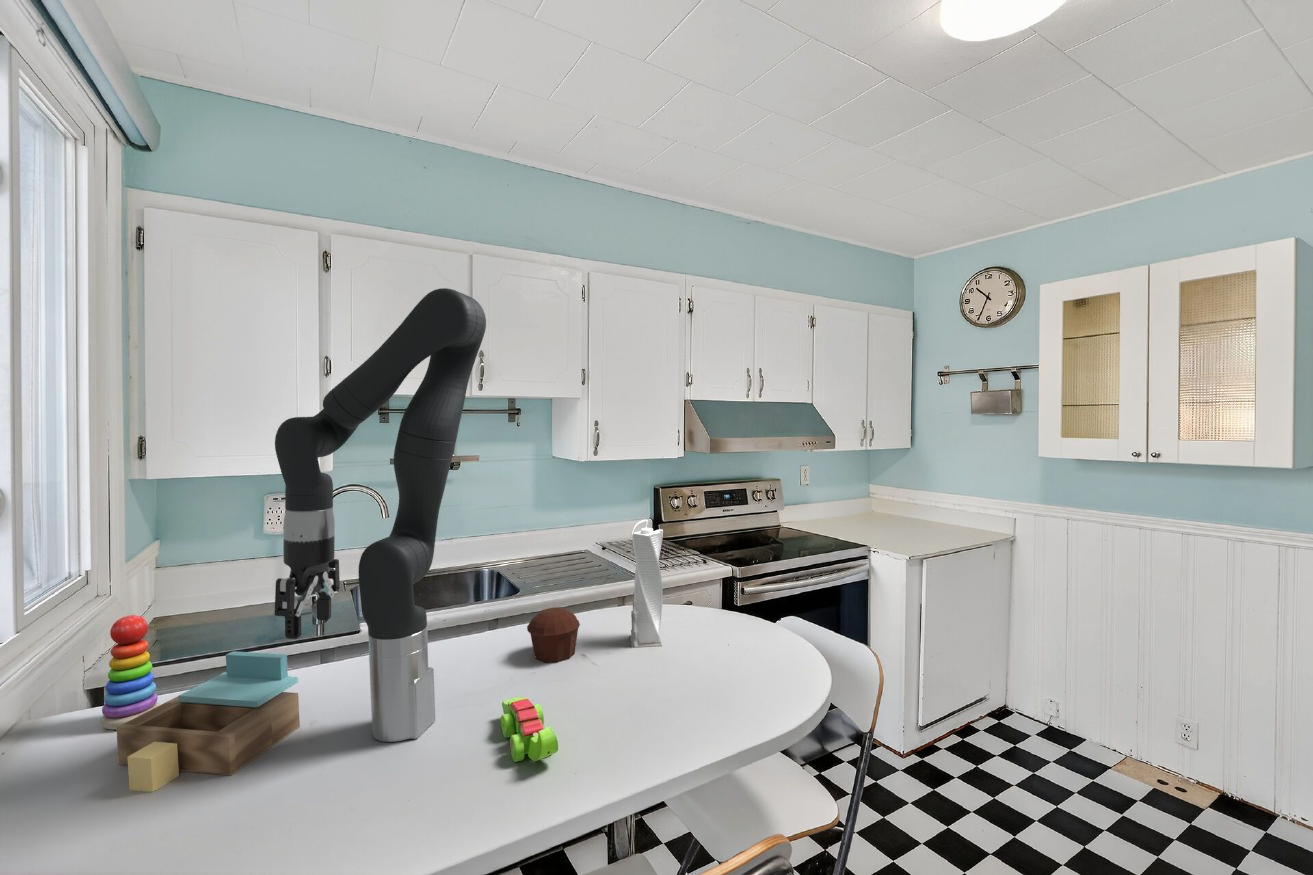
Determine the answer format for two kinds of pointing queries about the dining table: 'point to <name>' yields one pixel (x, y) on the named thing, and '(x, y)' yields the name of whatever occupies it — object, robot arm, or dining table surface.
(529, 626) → the muffin
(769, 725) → the dining table surface
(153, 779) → the ochre block
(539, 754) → the toy crocodile
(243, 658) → the sliding lid
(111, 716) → the stacking toy
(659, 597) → the skyscraper
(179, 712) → the wooden box
